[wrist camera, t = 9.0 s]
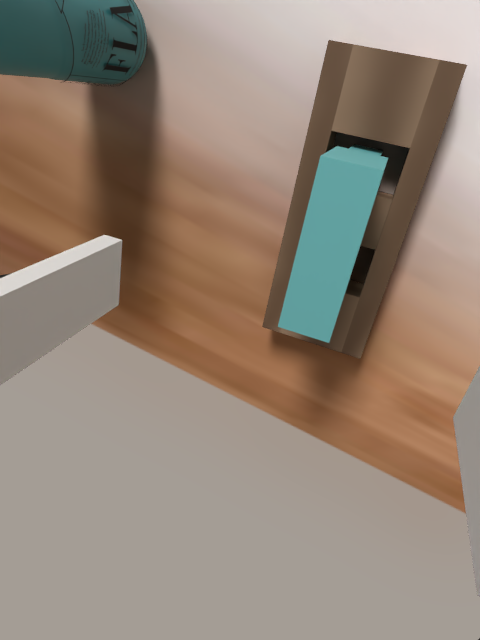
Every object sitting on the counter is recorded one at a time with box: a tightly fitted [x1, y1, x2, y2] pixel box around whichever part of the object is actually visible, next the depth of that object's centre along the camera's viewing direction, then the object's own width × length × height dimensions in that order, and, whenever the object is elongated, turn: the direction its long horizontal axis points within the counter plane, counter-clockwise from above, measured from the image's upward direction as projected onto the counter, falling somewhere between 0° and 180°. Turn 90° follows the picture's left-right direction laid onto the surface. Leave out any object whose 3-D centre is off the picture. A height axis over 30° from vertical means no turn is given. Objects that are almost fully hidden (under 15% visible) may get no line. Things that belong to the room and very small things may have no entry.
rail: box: [262, 40, 467, 359], centre depth 32 cm, size 8×20×3 cm, turn 169°
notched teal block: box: [278, 144, 388, 343], centre depth 29 cm, size 3×9×12 cm, turn 169°
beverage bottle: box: [0, 0, 147, 87], centre depth 26 cm, size 6×7×20 cm
